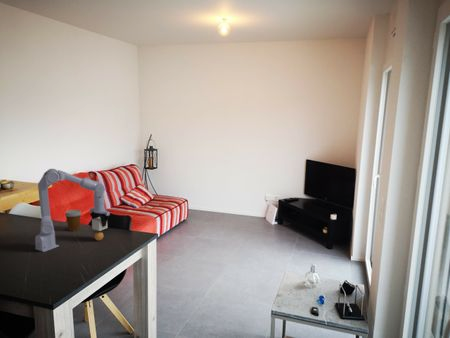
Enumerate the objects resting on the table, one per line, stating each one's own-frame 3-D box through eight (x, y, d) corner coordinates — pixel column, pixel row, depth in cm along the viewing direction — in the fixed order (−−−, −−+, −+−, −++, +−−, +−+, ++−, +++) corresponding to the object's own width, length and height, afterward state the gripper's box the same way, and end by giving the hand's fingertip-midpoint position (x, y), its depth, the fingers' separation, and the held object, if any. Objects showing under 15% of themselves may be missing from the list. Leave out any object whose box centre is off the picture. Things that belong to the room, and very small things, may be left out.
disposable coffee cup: (78, 232, 217) (77, 214, 215) (63, 232, 217) (62, 213, 215) (84, 227, 226) (83, 209, 224) (70, 226, 226) (69, 209, 224)
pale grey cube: (99, 230, 201) (99, 221, 200) (92, 228, 204) (91, 219, 203) (107, 227, 206) (107, 218, 205) (100, 226, 209) (100, 216, 208)
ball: (103, 231, 204) (106, 237, 207) (97, 229, 207) (100, 235, 209) (97, 237, 201) (100, 243, 203) (91, 235, 203) (94, 241, 206)
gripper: (113, 203, 203) (114, 225, 205) (96, 199, 209) (96, 221, 212) (103, 206, 197) (104, 229, 199) (86, 202, 203) (87, 224, 206)
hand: (100, 225), depth 205 cm, fingers closed on pale grey cube, 6 cm apart
